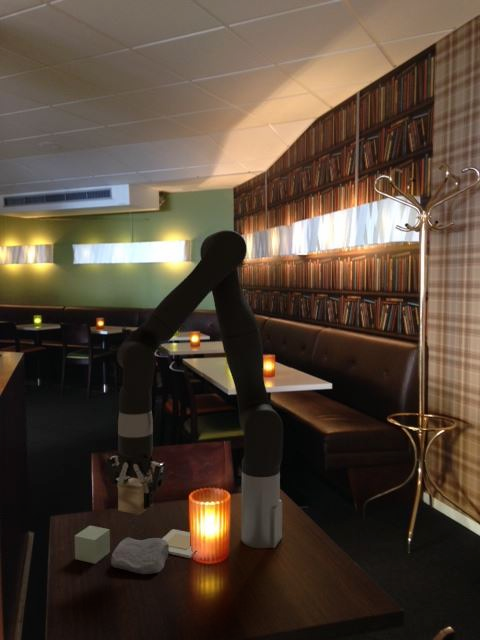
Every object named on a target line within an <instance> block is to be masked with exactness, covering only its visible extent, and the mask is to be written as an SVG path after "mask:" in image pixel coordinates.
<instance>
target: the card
mask: <svg viewBox="0 0 480 640" xmlns="http://www.w3.org/2000/svg"><path fill="white" fill-rule="evenodd" d="M190 533H191V532H189V531H183V530H180V529H173V528H172V529H171V530H170V531H169V532H168V533H166V535H164V536H163V537H162V538H161V539H163V540H166V542H167V543H168V545H169V551H168V555H173V556H177V557H178V556H179V557H182V558H183V557H184V558H187V559H191V558H192V557H193V556H194V555H195V554H194V553H193V552H192V551H191V546H190Z"/></svg>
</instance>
